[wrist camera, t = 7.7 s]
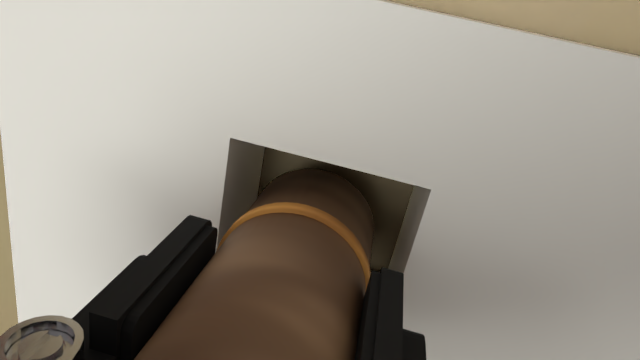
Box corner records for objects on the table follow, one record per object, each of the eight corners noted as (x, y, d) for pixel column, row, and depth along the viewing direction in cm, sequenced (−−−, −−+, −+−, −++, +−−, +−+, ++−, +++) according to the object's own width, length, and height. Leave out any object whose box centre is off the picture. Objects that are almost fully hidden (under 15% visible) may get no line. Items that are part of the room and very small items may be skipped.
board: (712, 71, 13) (828, 99, 9) (529, 406, 19) (558, 504, 15) (85, -66, 15) (-20, -88, 11) (88, 275, 21) (19, 334, 17)
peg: (393, 173, 15) (350, 684, 4) (363, 277, 16) (271, 845, 5) (270, 142, 15) (-101, 520, 4) (252, 247, 17) (-44, 717, 6)
